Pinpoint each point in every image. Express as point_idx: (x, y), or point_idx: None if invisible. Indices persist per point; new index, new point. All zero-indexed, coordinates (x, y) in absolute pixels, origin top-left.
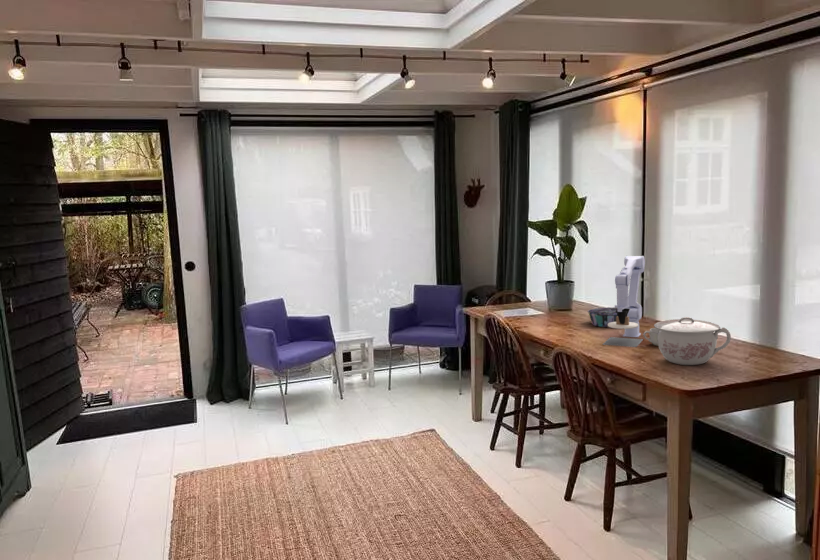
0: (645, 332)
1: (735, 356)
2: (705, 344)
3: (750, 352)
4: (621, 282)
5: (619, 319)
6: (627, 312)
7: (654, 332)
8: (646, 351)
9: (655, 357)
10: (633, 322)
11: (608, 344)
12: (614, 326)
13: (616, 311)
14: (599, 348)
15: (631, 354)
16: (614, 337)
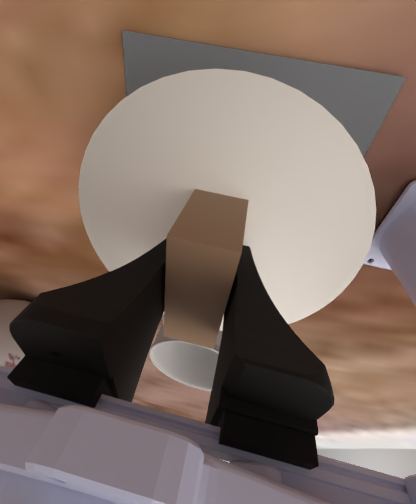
0: (162, 318)
1: (138, 391)
2: None
3: (178, 411)
4: None
5: (152, 252)
6: (213, 388)
7: (153, 345)
8: (97, 264)
9: (39, 278)
10: (296, 319)
11: (138, 87)
12: (88, 171)
13: (23, 312)
14: (30, 22)
15: (25, 214)
16: (377, 118)
